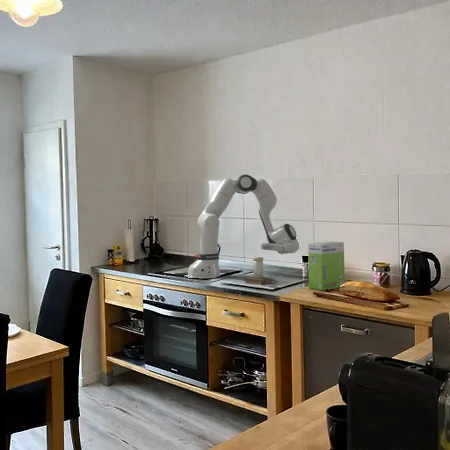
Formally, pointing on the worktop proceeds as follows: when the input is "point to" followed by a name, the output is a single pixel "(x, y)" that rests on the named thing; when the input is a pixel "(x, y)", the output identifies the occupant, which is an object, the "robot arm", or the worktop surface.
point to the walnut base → (258, 280)
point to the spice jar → (258, 267)
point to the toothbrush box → (326, 265)
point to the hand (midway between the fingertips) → (269, 248)
